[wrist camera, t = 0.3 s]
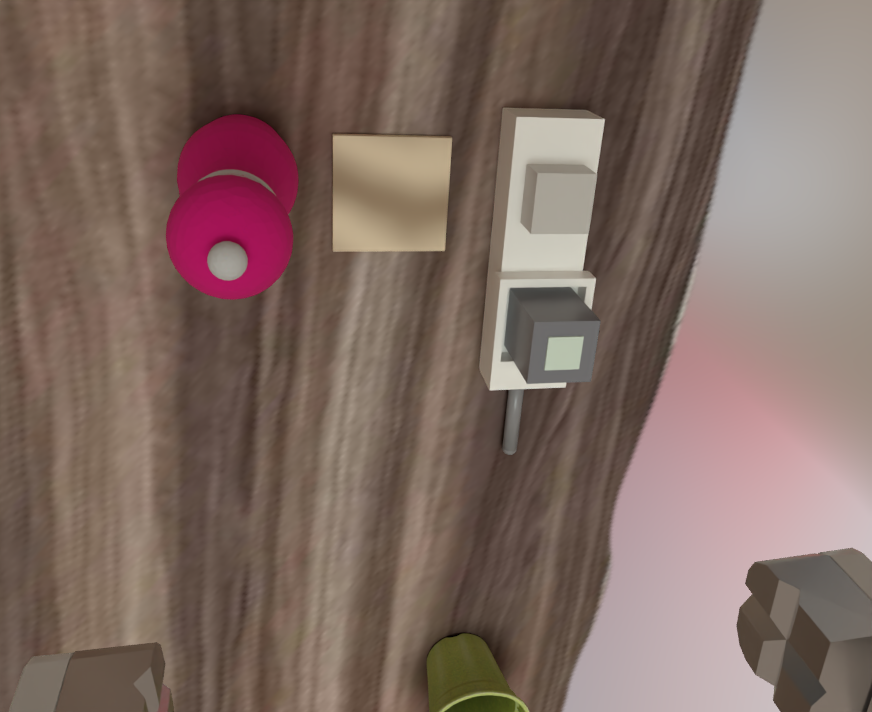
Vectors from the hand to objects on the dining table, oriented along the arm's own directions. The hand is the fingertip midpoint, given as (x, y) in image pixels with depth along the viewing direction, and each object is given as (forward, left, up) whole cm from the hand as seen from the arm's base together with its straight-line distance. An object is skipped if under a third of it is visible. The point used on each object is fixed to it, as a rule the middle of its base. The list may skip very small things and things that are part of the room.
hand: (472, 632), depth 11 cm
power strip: (+14, +16, -47) cm, 51 cm away
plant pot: (+51, +13, -47) cm, 71 cm away
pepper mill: (+4, -5, -47) cm, 47 cm away
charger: (+14, +16, -43) cm, 48 cm away
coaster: (+6, +5, -47) cm, 47 cm away
